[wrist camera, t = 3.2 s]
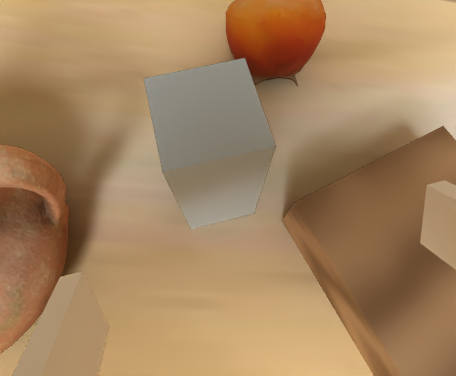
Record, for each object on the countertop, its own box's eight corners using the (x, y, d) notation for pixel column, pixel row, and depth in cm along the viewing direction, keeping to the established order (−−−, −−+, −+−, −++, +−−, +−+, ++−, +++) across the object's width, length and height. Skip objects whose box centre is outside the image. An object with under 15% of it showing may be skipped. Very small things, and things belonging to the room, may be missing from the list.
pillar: (190, 229, 23) (162, 172, 13) (177, 170, 25) (143, 78, 15) (254, 213, 24) (275, 145, 13) (237, 156, 25) (244, 57, 15)
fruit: (241, 108, 25) (233, -5, 20) (225, 77, 31) (216, -16, 26) (334, 93, 26) (349, -20, 21) (301, 65, 32) (306, -28, 27)
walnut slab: (281, 221, 24) (294, 202, 19) (403, 157, 26) (443, 126, 21) (374, 379, 20) (419, 403, 15) (509, 291, 22) (585, 288, 17)
